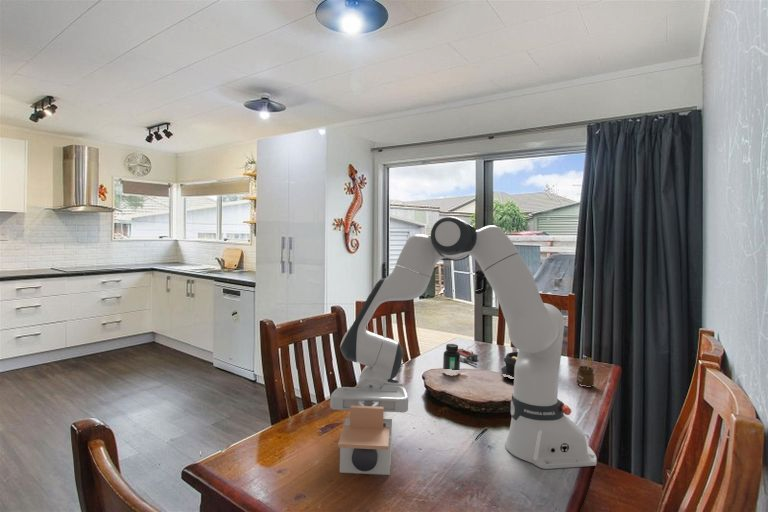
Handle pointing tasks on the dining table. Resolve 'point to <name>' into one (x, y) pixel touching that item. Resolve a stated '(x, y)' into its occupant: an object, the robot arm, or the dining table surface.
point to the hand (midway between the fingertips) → (367, 412)
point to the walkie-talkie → (467, 356)
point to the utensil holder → (585, 374)
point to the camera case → (366, 457)
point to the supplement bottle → (451, 357)
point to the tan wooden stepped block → (365, 429)
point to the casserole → (510, 363)
